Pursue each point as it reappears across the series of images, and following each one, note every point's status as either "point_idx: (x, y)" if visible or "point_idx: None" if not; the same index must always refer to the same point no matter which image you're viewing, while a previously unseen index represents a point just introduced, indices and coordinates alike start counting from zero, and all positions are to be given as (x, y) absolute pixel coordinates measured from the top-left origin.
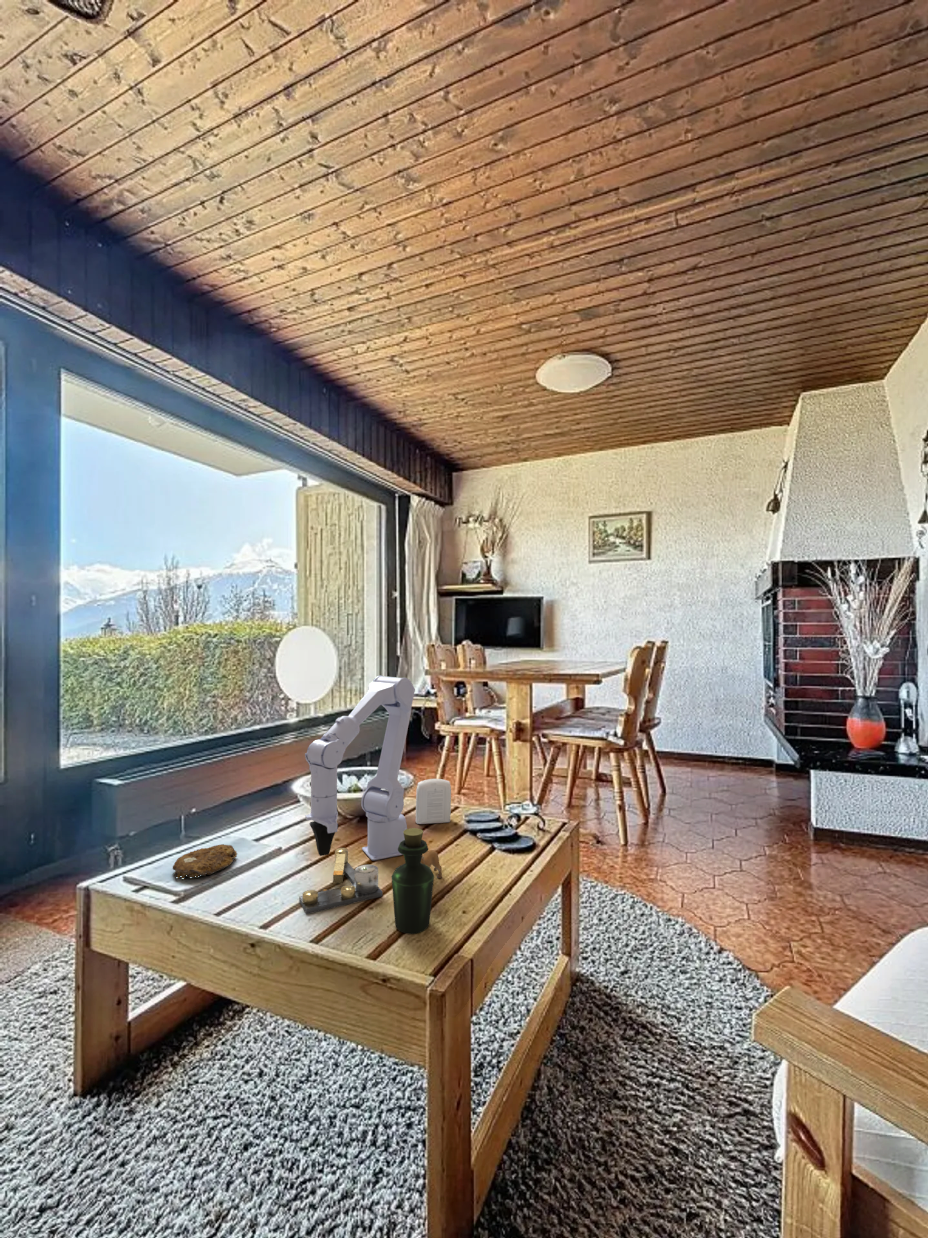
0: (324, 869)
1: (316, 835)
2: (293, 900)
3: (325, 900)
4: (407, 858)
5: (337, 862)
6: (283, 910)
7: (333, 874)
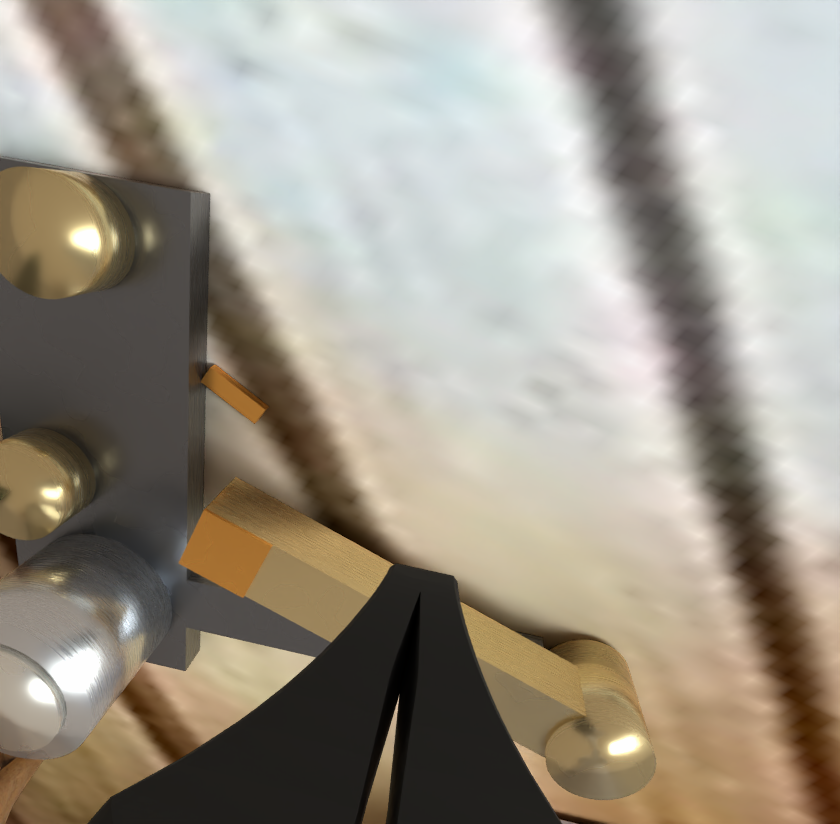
0: (592, 560)
1: (226, 743)
2: (247, 161)
3: (45, 329)
4: None
5: None
6: (126, 21)
7: (211, 517)
